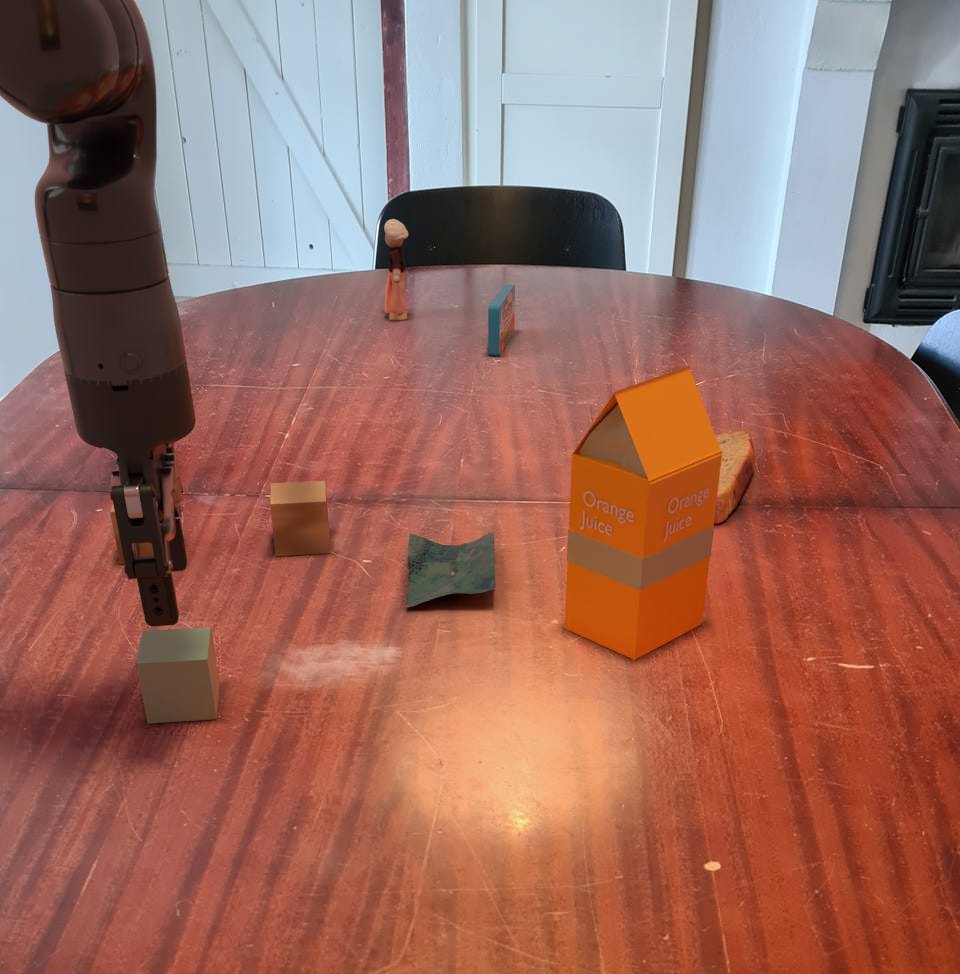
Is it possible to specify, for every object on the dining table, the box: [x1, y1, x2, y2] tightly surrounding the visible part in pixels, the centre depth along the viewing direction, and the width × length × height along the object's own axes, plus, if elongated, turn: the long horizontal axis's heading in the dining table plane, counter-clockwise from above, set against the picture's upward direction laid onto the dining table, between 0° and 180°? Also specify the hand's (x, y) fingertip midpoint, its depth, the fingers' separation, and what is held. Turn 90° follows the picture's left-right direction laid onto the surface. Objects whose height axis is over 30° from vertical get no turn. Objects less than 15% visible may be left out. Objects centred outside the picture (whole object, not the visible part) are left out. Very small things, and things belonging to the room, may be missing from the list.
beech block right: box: [269, 480, 332, 557], centre depth 114 cm, size 5×5×5 cm
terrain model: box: [406, 531, 497, 608], centre depth 109 cm, size 13×8×2 cm, turn 0°
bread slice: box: [714, 429, 757, 525], centre depth 126 cm, size 18×18×4 cm
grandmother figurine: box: [383, 218, 409, 321], centre depth 173 cm, size 8×4×13 cm, turn 10°
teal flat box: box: [487, 283, 516, 357], centre depth 164 cm, size 12×2×6 cm, turn 169°
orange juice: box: [564, 365, 723, 661], centre depth 96 cm, size 8×9×20 cm
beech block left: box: [109, 503, 178, 566], centre depth 112 cm, size 5×5×5 cm
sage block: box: [135, 626, 221, 725], centre depth 91 cm, size 5×5×5 cm
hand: (168, 595), depth 87 cm, fingers open, 8 cm apart
